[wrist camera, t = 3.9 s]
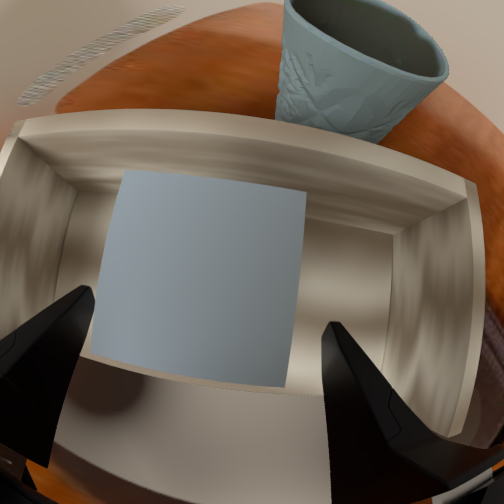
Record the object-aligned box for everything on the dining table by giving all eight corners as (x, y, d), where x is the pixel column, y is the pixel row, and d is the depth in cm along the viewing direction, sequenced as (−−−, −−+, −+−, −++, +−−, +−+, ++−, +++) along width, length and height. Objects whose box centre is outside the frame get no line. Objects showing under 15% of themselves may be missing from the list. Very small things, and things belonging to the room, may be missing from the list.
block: (248, 333, 17) (285, 387, 5) (179, 323, 17) (90, 352, 5) (257, 265, 18) (306, 192, 6) (189, 255, 18) (124, 169, 6)
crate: (385, 396, 18) (460, 432, 9) (43, 346, 16) (-36, 357, 7) (400, 225, 20) (475, 184, 11) (74, 179, 19) (15, 121, 10)
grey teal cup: (392, 150, 22) (468, 70, 10) (314, 202, 20) (397, 97, 8) (322, 77, 23) (360, -16, 11) (238, 110, 21) (247, -12, 9)
